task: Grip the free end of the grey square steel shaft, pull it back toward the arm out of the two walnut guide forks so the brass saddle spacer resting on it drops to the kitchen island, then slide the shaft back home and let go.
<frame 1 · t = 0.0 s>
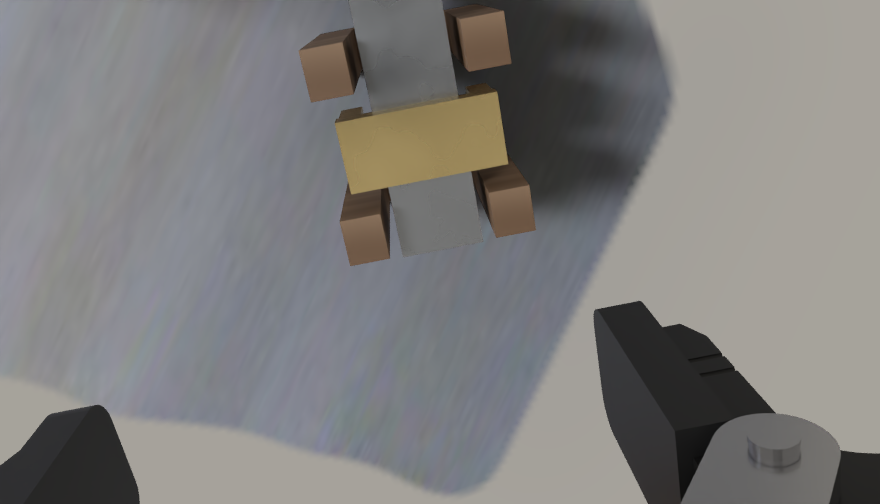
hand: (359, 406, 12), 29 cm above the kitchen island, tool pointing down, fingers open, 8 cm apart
shaft: (403, 43, 32), point 7 cm above the kitchen island, slide at 0.0 cm, touching spacer
spacer: (420, 130, 33), point 7 cm above the kitchen island, touching shaft
brown wooden frame: (415, 106, 40), on the kitchen island
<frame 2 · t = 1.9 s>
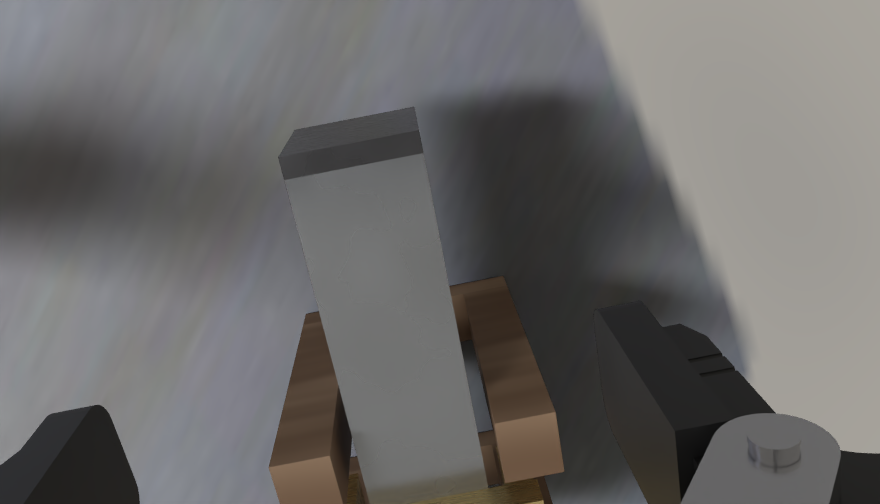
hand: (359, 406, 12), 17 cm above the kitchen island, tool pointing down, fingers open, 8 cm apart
shaft: (413, 403, 24), point 7 cm above the kitchen island, slide at 0.0 cm, touching spacer
spacer: (435, 496, 25), point 7 cm above the kitchen island, touching shaft
brown wooden frame: (425, 391, 32), on the kitchen island
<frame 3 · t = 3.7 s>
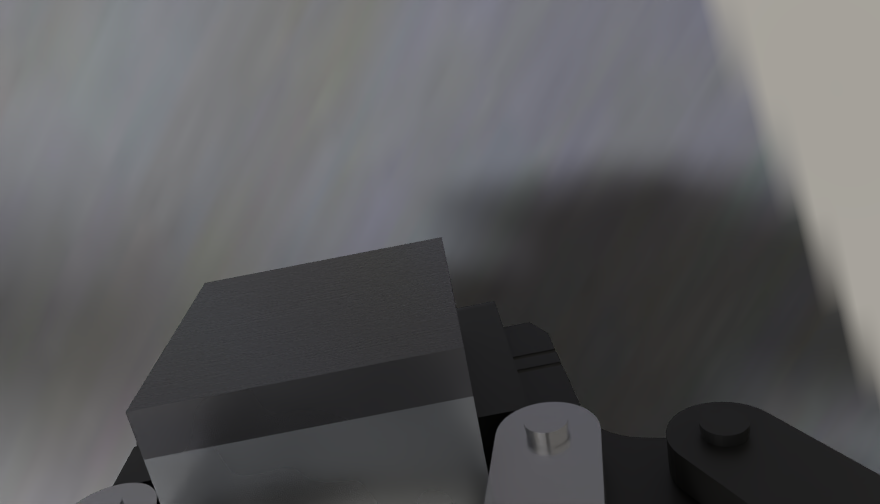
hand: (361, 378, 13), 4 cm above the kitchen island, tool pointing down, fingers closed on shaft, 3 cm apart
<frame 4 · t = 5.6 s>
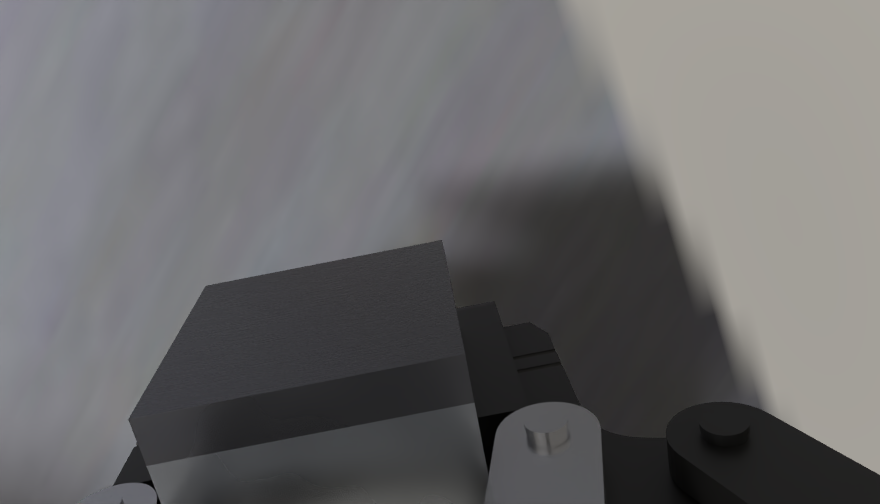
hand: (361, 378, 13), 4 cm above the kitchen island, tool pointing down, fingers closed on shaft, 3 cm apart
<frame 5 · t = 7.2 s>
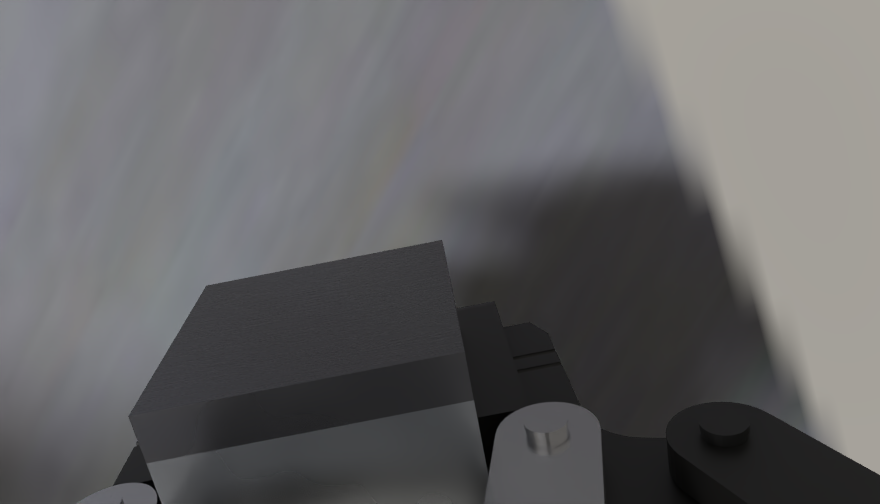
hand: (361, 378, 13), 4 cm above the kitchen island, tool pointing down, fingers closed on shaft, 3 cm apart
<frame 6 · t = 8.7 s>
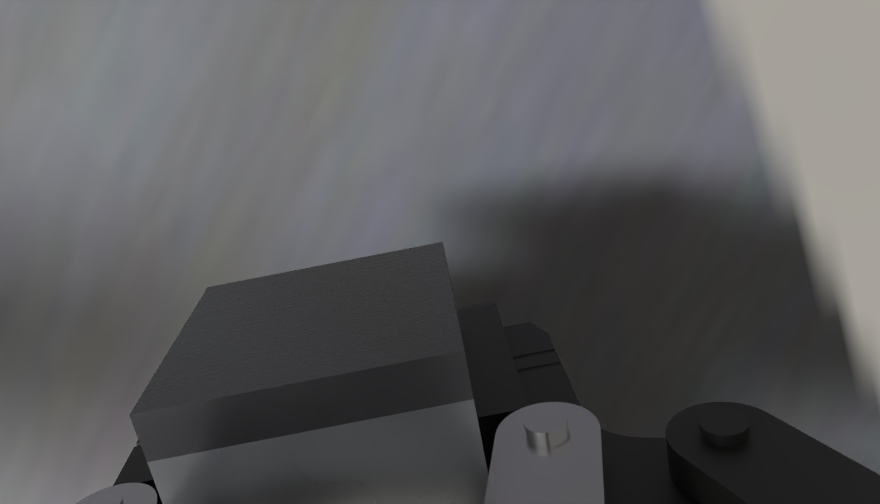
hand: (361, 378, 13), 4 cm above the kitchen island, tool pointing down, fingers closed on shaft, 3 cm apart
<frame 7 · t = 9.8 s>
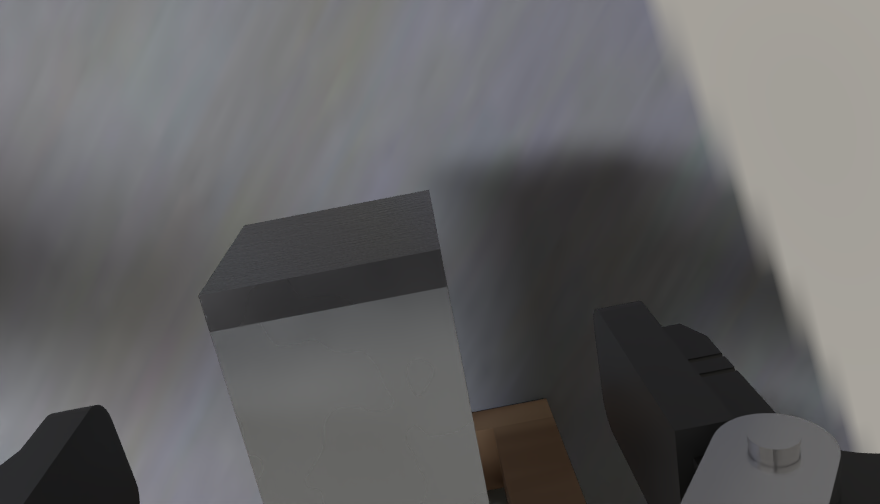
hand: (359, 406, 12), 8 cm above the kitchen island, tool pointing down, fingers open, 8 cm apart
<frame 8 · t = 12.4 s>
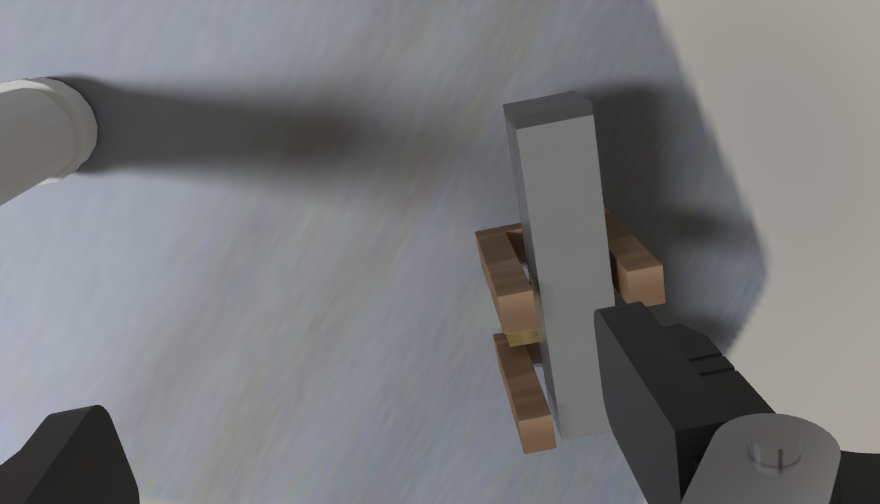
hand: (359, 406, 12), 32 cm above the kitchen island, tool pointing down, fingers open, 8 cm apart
shaft: (567, 271, 39), point 7 cm above the kitchen island, slide at 0.0 cm
spacer: (553, 281, 45), point 1 cm above the kitchen island, tilted 90°
brown wooden frame: (550, 287, 47), on the kitchen island
pipe: (56, 130, 42), on the kitchen island
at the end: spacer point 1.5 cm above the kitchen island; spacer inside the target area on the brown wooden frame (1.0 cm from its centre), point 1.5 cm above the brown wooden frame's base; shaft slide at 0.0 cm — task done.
